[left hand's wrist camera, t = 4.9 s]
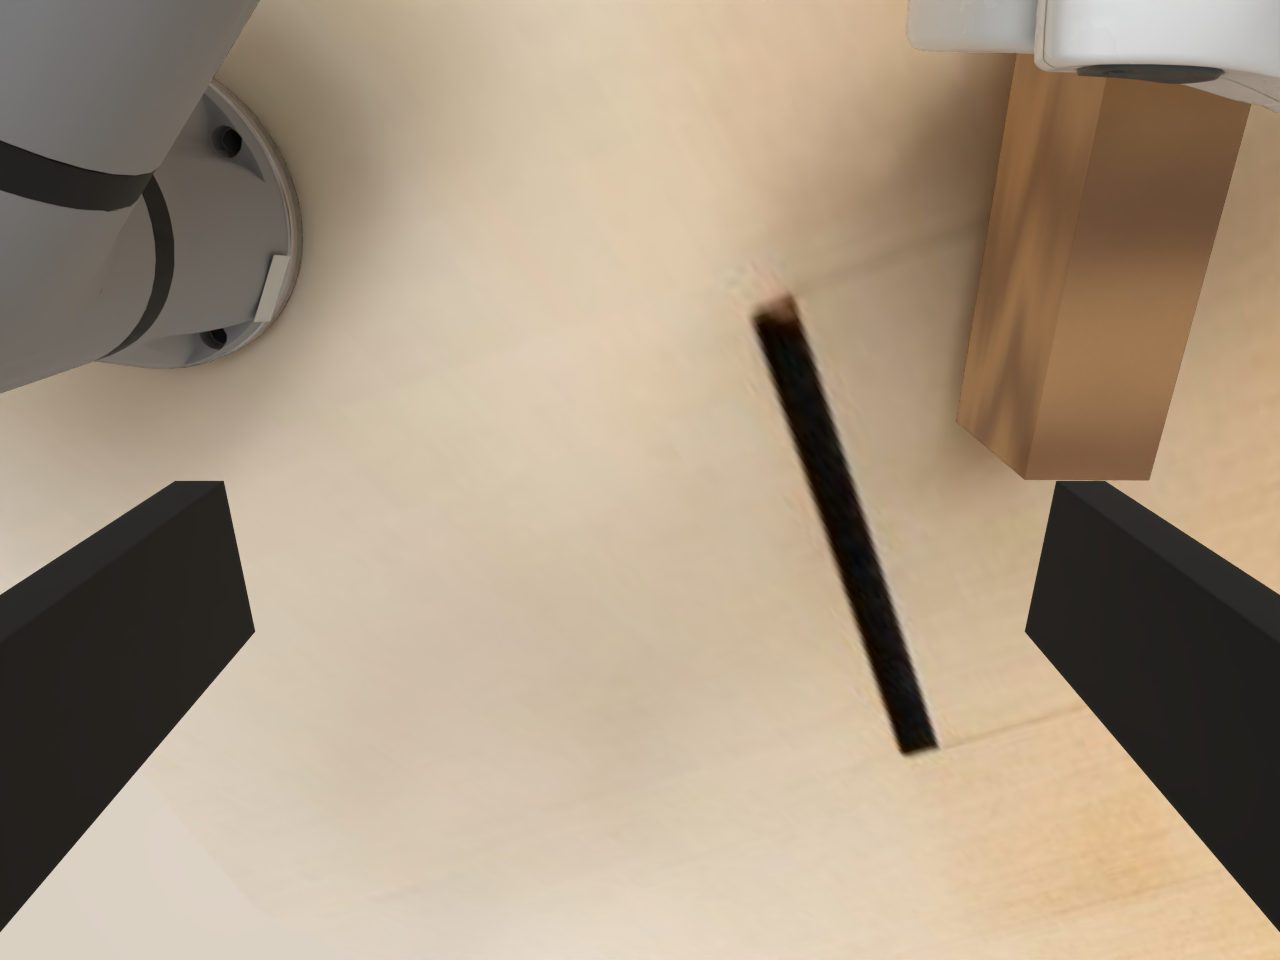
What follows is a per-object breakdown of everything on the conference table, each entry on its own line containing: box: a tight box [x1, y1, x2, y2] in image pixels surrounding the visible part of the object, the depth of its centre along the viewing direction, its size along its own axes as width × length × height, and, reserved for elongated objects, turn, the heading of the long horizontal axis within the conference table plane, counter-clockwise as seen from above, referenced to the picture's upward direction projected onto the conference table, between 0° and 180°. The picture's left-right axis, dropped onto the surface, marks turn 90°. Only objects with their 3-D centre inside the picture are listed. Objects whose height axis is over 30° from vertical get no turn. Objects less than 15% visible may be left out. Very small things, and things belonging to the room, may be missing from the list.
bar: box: [956, 53, 1251, 480], centre depth 33 cm, size 22×5×8 cm, turn 0°
